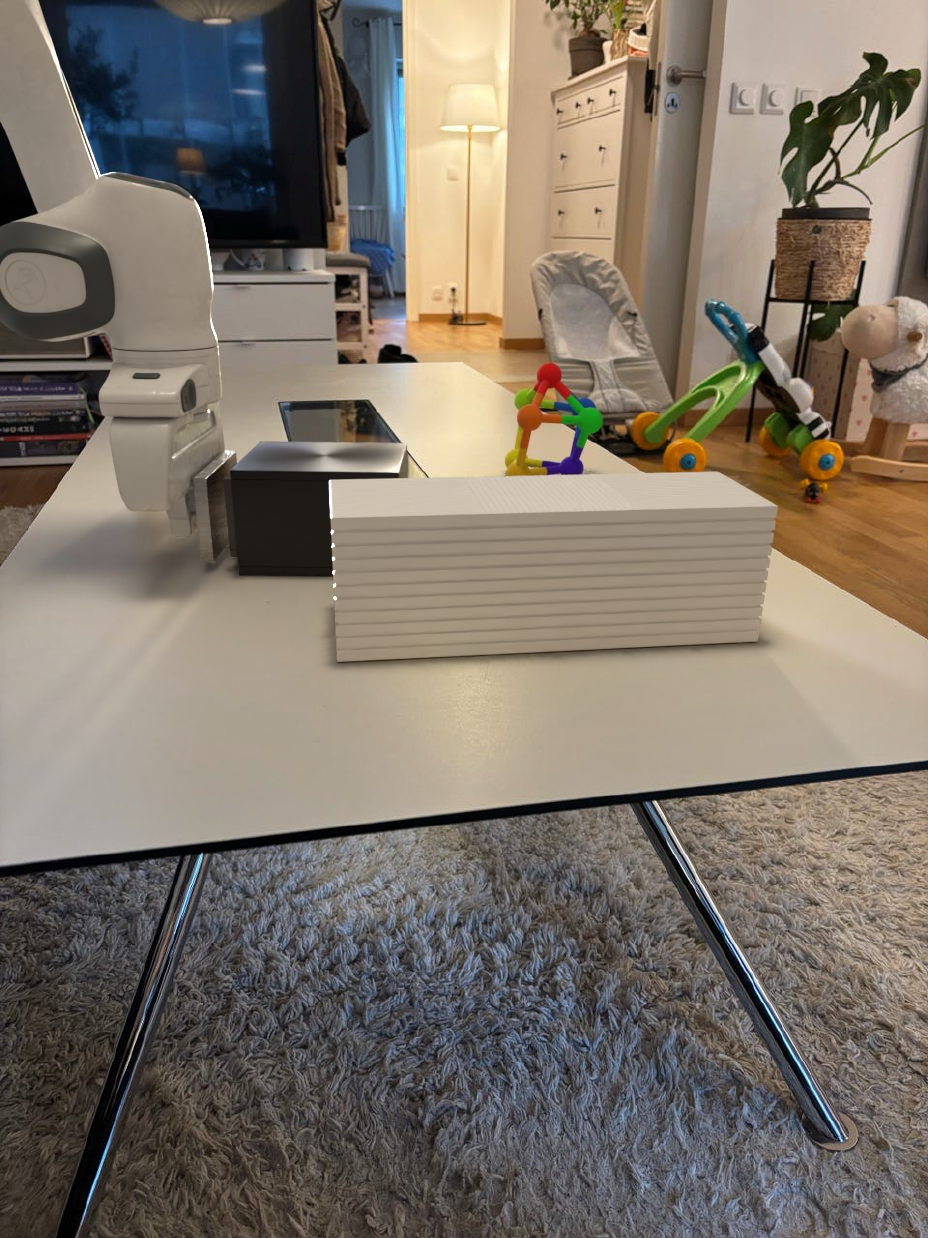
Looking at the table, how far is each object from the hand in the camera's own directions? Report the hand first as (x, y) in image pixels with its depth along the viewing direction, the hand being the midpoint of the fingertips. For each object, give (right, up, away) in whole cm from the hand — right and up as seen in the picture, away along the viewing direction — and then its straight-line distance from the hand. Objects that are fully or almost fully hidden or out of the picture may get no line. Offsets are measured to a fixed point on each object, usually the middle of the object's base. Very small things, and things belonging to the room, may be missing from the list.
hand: (186, 532), depth 85 cm
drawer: (+8, -1, +3) cm, 9 cm away
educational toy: (+37, +10, +33) cm, 51 cm away
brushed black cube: (+13, -2, +3) cm, 13 cm away
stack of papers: (+32, -9, -12) cm, 35 cm away
